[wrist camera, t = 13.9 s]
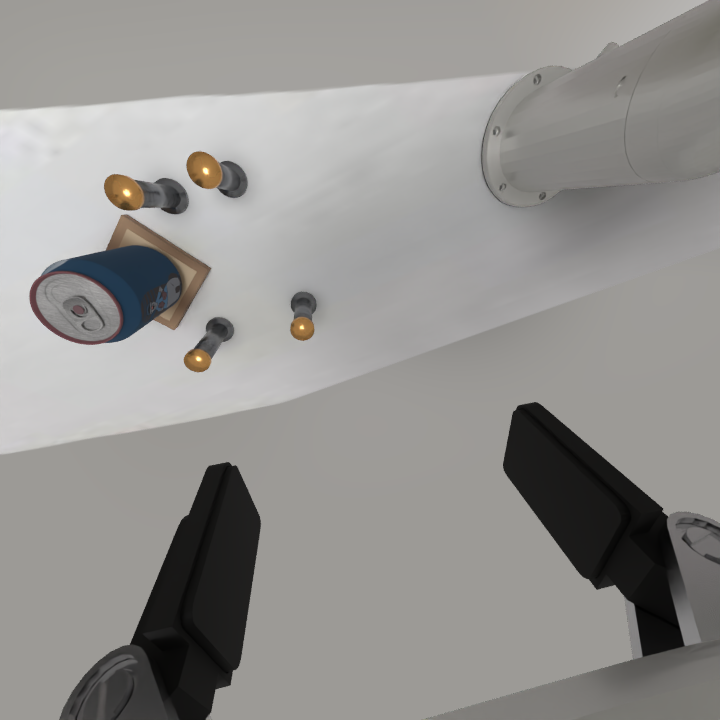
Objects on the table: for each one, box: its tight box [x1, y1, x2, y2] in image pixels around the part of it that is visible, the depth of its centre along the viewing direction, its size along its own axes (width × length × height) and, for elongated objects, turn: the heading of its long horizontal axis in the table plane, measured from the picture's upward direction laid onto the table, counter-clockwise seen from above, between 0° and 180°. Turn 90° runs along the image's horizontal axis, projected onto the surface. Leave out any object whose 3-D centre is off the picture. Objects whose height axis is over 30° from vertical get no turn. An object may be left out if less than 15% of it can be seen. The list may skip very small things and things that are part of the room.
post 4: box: [290, 292, 316, 341], centre depth 33 cm, size 3×3×9 cm
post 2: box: [187, 152, 247, 198], centre depth 26 cm, size 3×3×9 cm
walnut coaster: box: [106, 215, 211, 330], centre depth 33 cm, size 9×9×1 cm
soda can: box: [30, 245, 182, 345], centre depth 27 cm, size 7×7×12 cm
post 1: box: [104, 174, 188, 214], centre depth 26 cm, size 3×3×9 cm
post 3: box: [184, 317, 234, 372], centre depth 33 cm, size 3×3×9 cm
